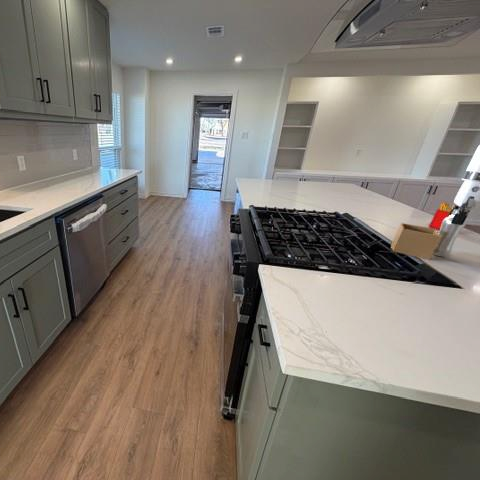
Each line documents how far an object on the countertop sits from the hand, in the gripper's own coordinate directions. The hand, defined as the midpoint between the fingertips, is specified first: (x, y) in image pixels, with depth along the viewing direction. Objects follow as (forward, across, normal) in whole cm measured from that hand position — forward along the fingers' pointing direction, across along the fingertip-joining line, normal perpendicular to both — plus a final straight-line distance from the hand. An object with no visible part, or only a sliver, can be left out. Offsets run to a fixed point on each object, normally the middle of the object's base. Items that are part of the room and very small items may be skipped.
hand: (454, 221), depth 102 cm
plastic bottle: (+15, 0, 0) cm, 15 cm away
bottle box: (+15, -8, +10) cm, 20 cm away
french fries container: (+15, +50, -8) cm, 53 cm away
